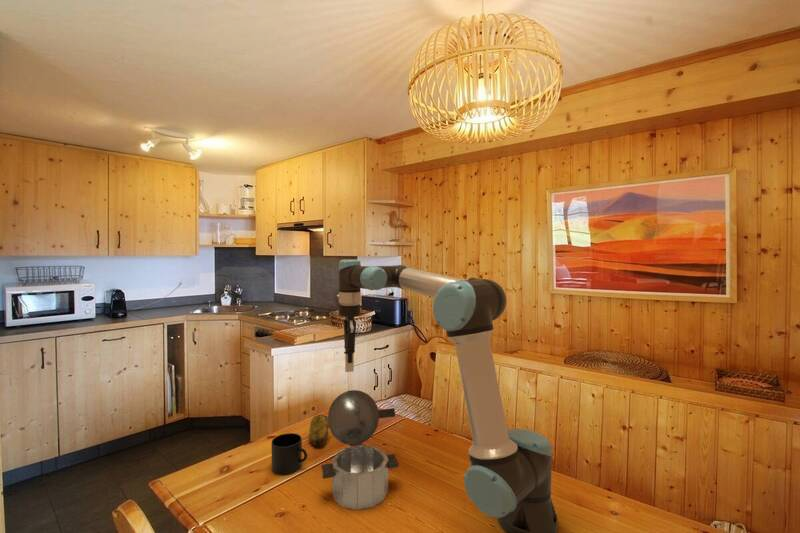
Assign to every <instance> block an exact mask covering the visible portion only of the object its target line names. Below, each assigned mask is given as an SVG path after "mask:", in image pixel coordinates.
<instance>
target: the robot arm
mask: <svg viewBox="0 0 800 533" xmlns="http://www.w3.org/2000/svg"><path fill="white" fill-rule="evenodd" d="M386 288H398V289H401V290H405V291H409V292H412V293H417V294H419V295H424V296H428V297H431V298H433V302H432V313H433V317H434V321H436V323H437V324H439V327H440V328H441V329H443V330H445V332H446V337H447V339H448V340H449V341H451V342H452V343H453V344H454V347H455V352H456V358H457V363H458V367H459V374H460V375H459V376H460V378H461V385H462V390H463V396H464V400H465V406H466V411H467V415H468V420H469V426H470V428H469V429H470V432H471V433H470V434H471V437H472V444H471V446H470V447H469V448H468V457H469V462H470V466H468V468H467V470H466V472H465V473H464V477H463V484H464V488H465V491H466V494H467V495H468V497H469V499H470V500H471V502H472V504H473V505H475V506H476V508H477V509H478V510H479V511H480V512H482V513H483V514H484V515H486V516H489V517H491V518H495V519H497V522H498V524H499V526H501V528H502V529H503V530H504V531H505V532H506V533H558V527H559V525H558V524H559V523H558V522H559V520H558V515H557V512H556V510H555V506H554V503H553V500H552V468H553V466H552V464H553V461H552V460H553V452H552V443H551V441H550V440H549V439H548V438H547V437H546V436H544V435H543V434H541V433H539V432H536V431H533V430H529V429H524V428H510V429H508V424H507V420H506V416H505V411H504V406H503V400H502V396H501V392H500V386H499V382H498V374H497V371H496V367H495V360H494V357H493V355H494V354H493V350H492V347H491V341H490V338H491V335H492V334H493V332H494V331H495V330H494V324H493V322H494V321H496V320H497V319H499V318H500V317H501V316H502V315H503V313H504V312H505V309H506V306H507V296H506V292H505V291H504V288H503V287H502V286H501V285H500V284H499V283H498V282H496V281H495V280H491V279H487V278H476V277H469V278H466V279H464V278H459V277H455V276H450V275H446V274H444V275H443V274H440V273H435V272H429V271H425V270H421V269H417V268H411V267H410V266H409V265H404V264H397V265H362V262H361V260H360V259H341V260H339V262H338V294H337V295H336V297H337V298H338V303H339V304H338V316H340V317H344V320H343V321H342V322H343V323H342V325H343V335H344V338H343V339H344V346H343V347H344V351H343V354H344V360H345V361H344V362H345V363H344V365H345V368H344V371H345V373H350V372H351V373H353V372H354V371H355V370H354V366H355V365H354V364H355V363H354V359H355V358H354V357H355V356H354V353H355V352H356V348H355V347H356V331H357V327H356V326H357V321H356V320H355V317H359V316H360V315H361V304H360V303H361V302H362V301H361V300H362V296H361V295H362V291H361V289H364V290H368V291H380V290H382V289H386Z"/></svg>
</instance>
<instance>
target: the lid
mask: <svg viewBox="0 0 800 533" xmlns="http://www.w3.org/2000/svg"><path fill="white" fill-rule="evenodd" d="M327 413H328V414H327V418H328V425H329V430H330V432H331V434H332V436H333V437H334V438H335V439H336V440H337V441H338V442H340V443H342V444H345V445H348V447H353V446H361V445H363V443H366V441H368V440H369V439H370V438H371V437H372V436H374V434H375V432H376V431H377V428H378V426H379V420H381V419H387V418H388V419H389V418H395V417H396V411H395V408H384V409H379V408H378V404H377V403H376V401H375V400H374V398H372V397H371V395H369V394H368V393H366V392H364V391H361V390H359V389H358V390H357V389H354V390H353V389H352V390H347V391H344V392H343V393H340V394H339V395H338V396H336V398H335V399H334V400H333V401H332V403H331V405H330V407H329V409H328V412H327Z"/></svg>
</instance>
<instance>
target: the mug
mask: <svg viewBox="0 0 800 533" xmlns="http://www.w3.org/2000/svg"><path fill="white" fill-rule="evenodd" d="M302 443H303V438H302V436H301V435H300V434H298V433H295V432H294V433H292V432H288V433H283V434H280V435H277V436H274V437H273V439H272V440H271V470H272V472H273V473H274V474H276V475H279V476H280V475H283V476H284V475H291V474H293V473H295V472H298V471H299V470H300V469H301V467H302V464H303V462H305V461H306V460H307V458H308V453H307V451H306V449H304V448H303V446H302ZM302 455H304V456H302Z"/></svg>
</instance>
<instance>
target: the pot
mask: <svg viewBox="0 0 800 533" xmlns="http://www.w3.org/2000/svg"><path fill="white" fill-rule="evenodd" d="M394 468H399V461H398V459H397V457H396V455H395V454H386V452H385V451H384V450H382V449H380V448H378V447H377V446H371V445H366V444H362V445H358V446H350V447H349V446H348V447H344V449H342V450H340V451H338V452H337V453H336V454H335V455H334V457H333V458H332V459H331V463H326V464H325V463H324V464H321V473H322V479H331V491H332V499H333V501H334V502H335V503H337V504H338V505H339V506H341V507H342V508H345V509H349V510H357V511H358V510H365V509H370V508H371V509H372V508H374V507H375V506H377V505H378V504H380V503H382V502H383V501H385V499H386V497H387V494H388V492H389V469H394Z"/></svg>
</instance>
